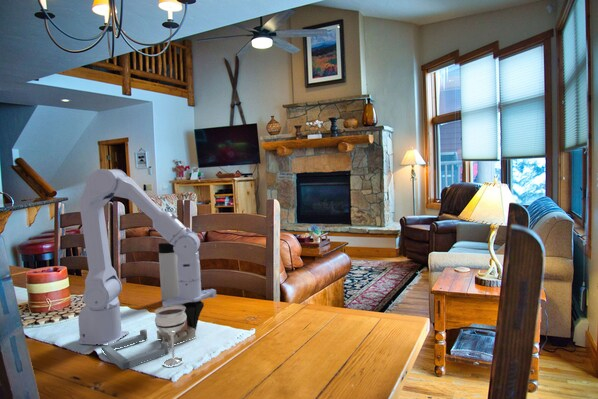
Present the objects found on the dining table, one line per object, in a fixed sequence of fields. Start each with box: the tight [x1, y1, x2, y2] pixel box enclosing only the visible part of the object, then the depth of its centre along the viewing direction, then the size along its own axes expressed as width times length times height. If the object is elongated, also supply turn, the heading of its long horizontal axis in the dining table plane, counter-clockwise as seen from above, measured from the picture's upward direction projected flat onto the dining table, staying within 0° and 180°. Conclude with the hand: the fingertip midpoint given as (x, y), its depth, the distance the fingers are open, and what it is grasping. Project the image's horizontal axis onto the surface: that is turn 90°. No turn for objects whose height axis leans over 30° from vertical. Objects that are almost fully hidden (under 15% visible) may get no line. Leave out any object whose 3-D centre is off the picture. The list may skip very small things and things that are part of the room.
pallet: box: [156, 325, 197, 347], centre depth 104 cm, size 7×7×2 cm
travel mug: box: [157, 242, 179, 303], centre depth 135 cm, size 6×7×20 cm
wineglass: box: [154, 305, 187, 366], centre depth 90 cm, size 7×7×12 cm
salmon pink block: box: [176, 320, 187, 333], centre depth 103 cm, size 4×4×3 cm
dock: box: [100, 329, 169, 371], centre depth 96 cm, size 11×13×2 cm
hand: (192, 329), depth 107 cm, fingers closed
